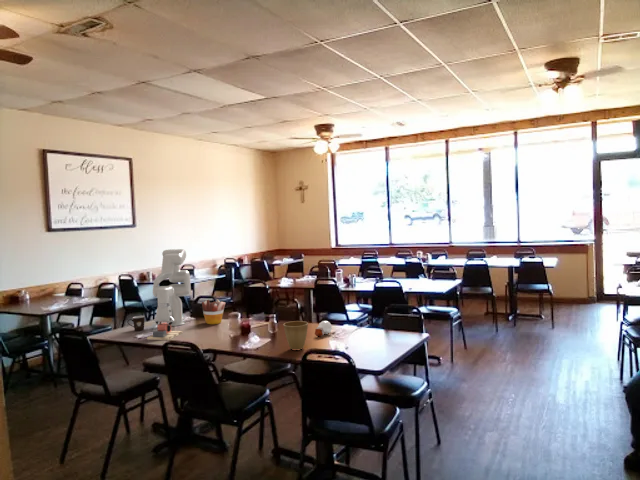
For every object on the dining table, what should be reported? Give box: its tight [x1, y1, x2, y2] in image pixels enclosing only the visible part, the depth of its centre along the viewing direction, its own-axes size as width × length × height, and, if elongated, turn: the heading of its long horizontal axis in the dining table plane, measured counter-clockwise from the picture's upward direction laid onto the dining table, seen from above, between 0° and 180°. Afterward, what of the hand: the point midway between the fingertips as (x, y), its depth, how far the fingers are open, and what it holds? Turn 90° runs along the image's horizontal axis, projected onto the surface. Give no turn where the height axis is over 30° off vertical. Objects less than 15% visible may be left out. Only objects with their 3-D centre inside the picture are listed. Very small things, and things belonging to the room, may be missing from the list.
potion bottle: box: [314, 320, 333, 337], centre depth 338 cm, size 9×10×15 cm
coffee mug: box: [127, 315, 146, 332], centre depth 371 cm, size 12×9×10 cm
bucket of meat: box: [201, 298, 226, 325], centre depth 389 cm, size 20×16×20 cm
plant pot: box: [283, 320, 309, 350], centre depth 303 cm, size 15×15×16 cm
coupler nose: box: [152, 329, 167, 337], centre depth 342 cm, size 4×8×4 cm, turn 78°
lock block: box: [156, 322, 172, 334], centre depth 348 cm, size 8×6×6 cm
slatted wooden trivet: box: [146, 330, 183, 341], centre depth 349 cm, size 20×16×2 cm
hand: (164, 330), depth 348 cm, fingers closed on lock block, 5 cm apart
